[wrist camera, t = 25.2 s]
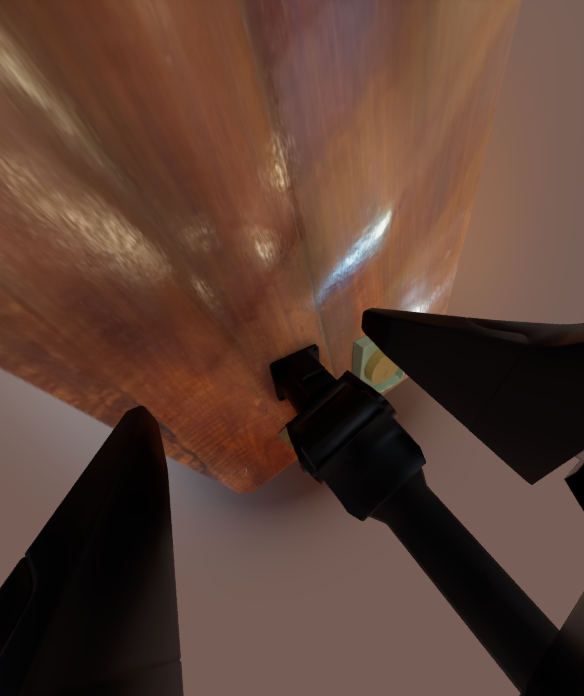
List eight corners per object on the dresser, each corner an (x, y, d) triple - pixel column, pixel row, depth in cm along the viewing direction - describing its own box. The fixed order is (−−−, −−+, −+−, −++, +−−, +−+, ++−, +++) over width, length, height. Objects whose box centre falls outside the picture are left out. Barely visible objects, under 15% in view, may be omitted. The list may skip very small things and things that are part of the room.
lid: (377, 342, 32) (386, 347, 31) (400, 345, 36) (409, 350, 35) (357, 378, 35) (364, 385, 34) (381, 377, 39) (388, 383, 37)
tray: (394, 373, 41) (402, 379, 40) (349, 399, 38) (356, 407, 37) (408, 315, 33) (419, 320, 32) (353, 341, 30) (363, 348, 29)
